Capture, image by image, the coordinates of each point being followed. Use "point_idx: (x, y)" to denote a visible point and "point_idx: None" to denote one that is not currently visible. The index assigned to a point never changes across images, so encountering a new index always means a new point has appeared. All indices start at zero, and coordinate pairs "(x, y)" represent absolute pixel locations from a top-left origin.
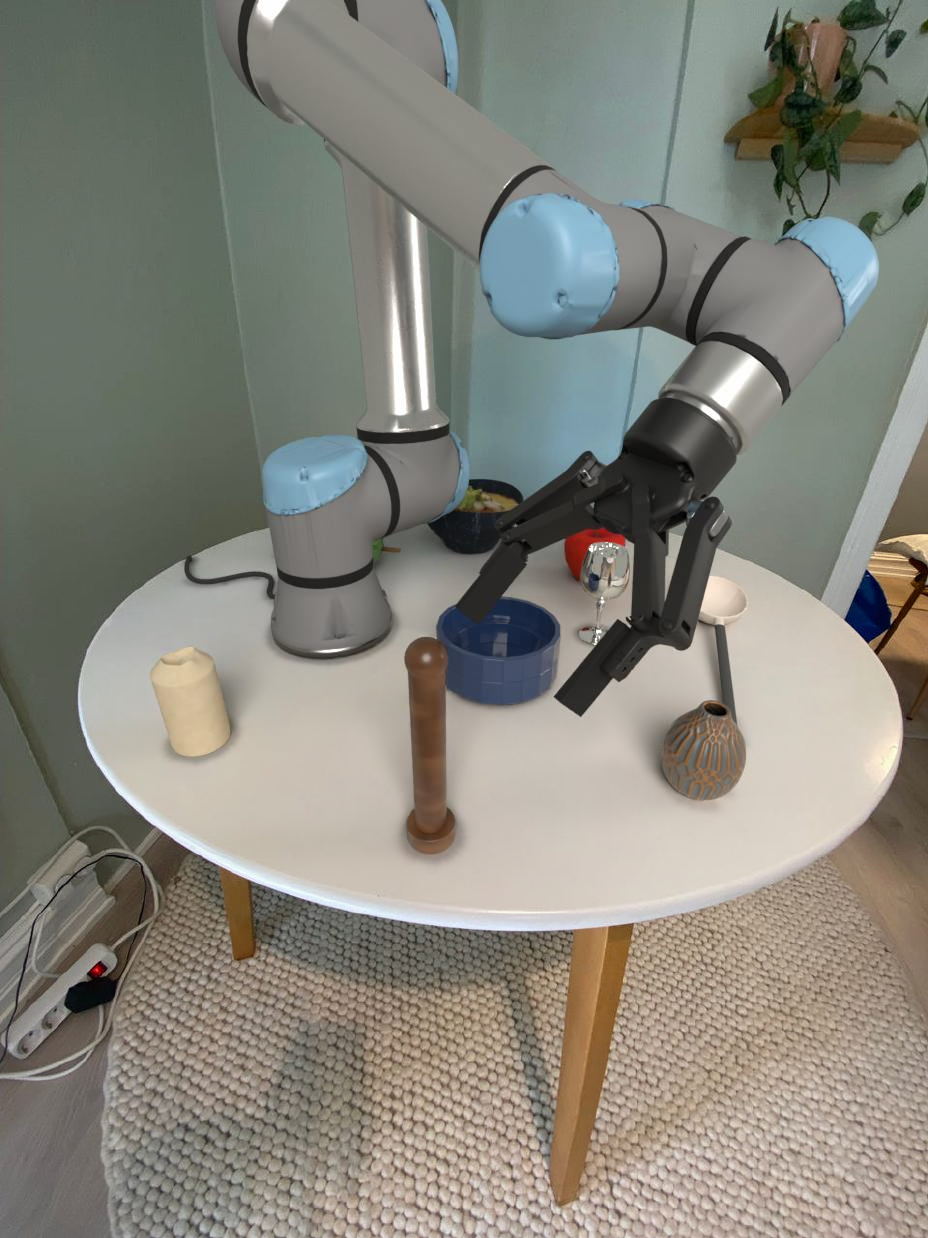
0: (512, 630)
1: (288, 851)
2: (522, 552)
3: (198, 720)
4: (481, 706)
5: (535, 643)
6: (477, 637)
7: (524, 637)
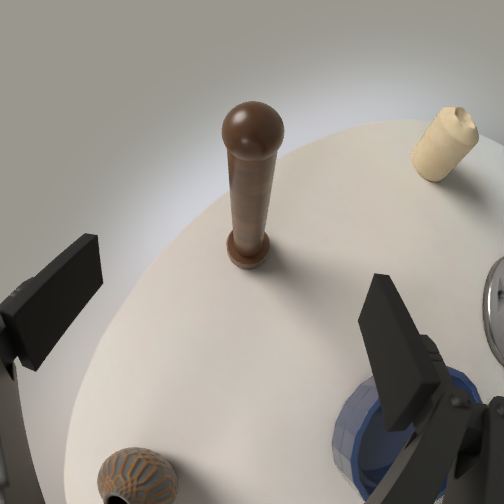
0: None
1: (297, 163)
2: (415, 432)
3: (425, 141)
4: None
5: None
6: None
7: None
